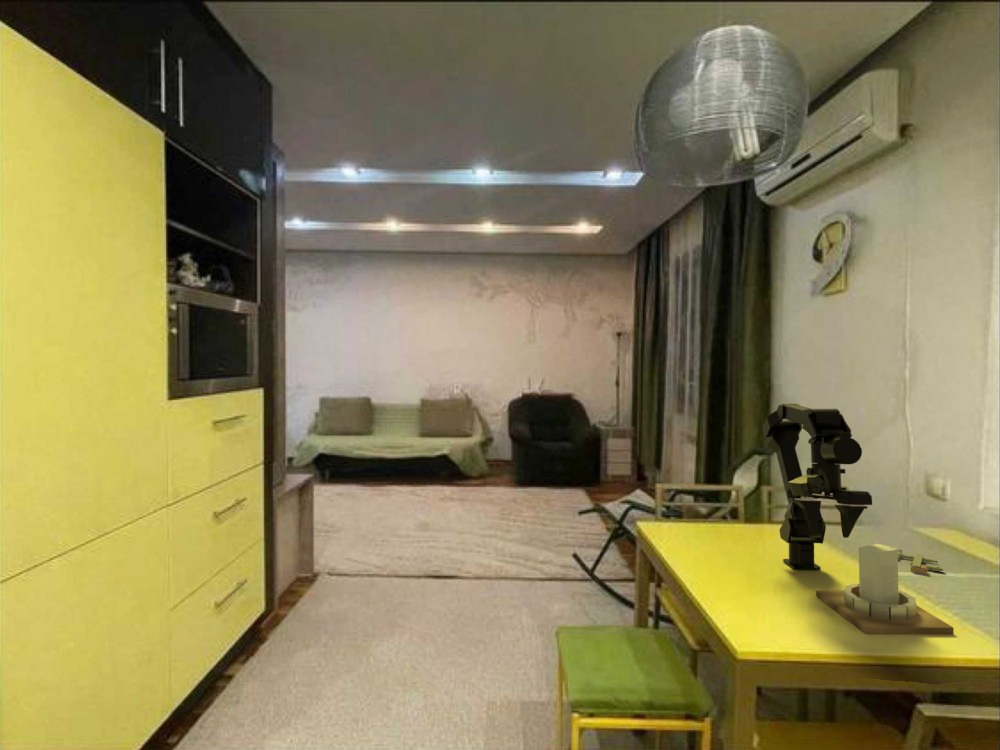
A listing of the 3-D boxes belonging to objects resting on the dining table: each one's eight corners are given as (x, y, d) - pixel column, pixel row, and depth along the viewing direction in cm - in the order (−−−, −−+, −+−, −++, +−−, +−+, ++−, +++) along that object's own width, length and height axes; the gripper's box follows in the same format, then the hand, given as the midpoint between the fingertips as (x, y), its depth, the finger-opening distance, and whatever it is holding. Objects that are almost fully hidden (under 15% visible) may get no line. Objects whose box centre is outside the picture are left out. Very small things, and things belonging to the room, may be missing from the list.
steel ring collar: (832, 595, 122) (832, 583, 122) (890, 595, 122) (890, 583, 122) (866, 620, 110) (866, 607, 110) (930, 620, 110) (930, 607, 110)
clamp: (942, 570, 134) (891, 561, 141) (942, 579, 134) (891, 570, 141) (944, 554, 146) (897, 546, 152) (944, 562, 146) (897, 555, 152)
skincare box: (878, 600, 119) (877, 543, 119) (899, 608, 115) (899, 548, 115) (858, 605, 117) (857, 546, 117) (879, 613, 113) (878, 553, 113)
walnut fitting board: (816, 595, 125) (815, 590, 125) (891, 595, 125) (891, 590, 124) (865, 633, 107) (865, 627, 107) (953, 633, 107) (953, 627, 106)
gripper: (767, 462, 137) (769, 529, 135) (827, 464, 119) (831, 541, 117) (806, 463, 140) (809, 529, 138) (872, 465, 122) (876, 541, 120)
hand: (829, 534), depth 128 cm, fingers open, 9 cm apart
